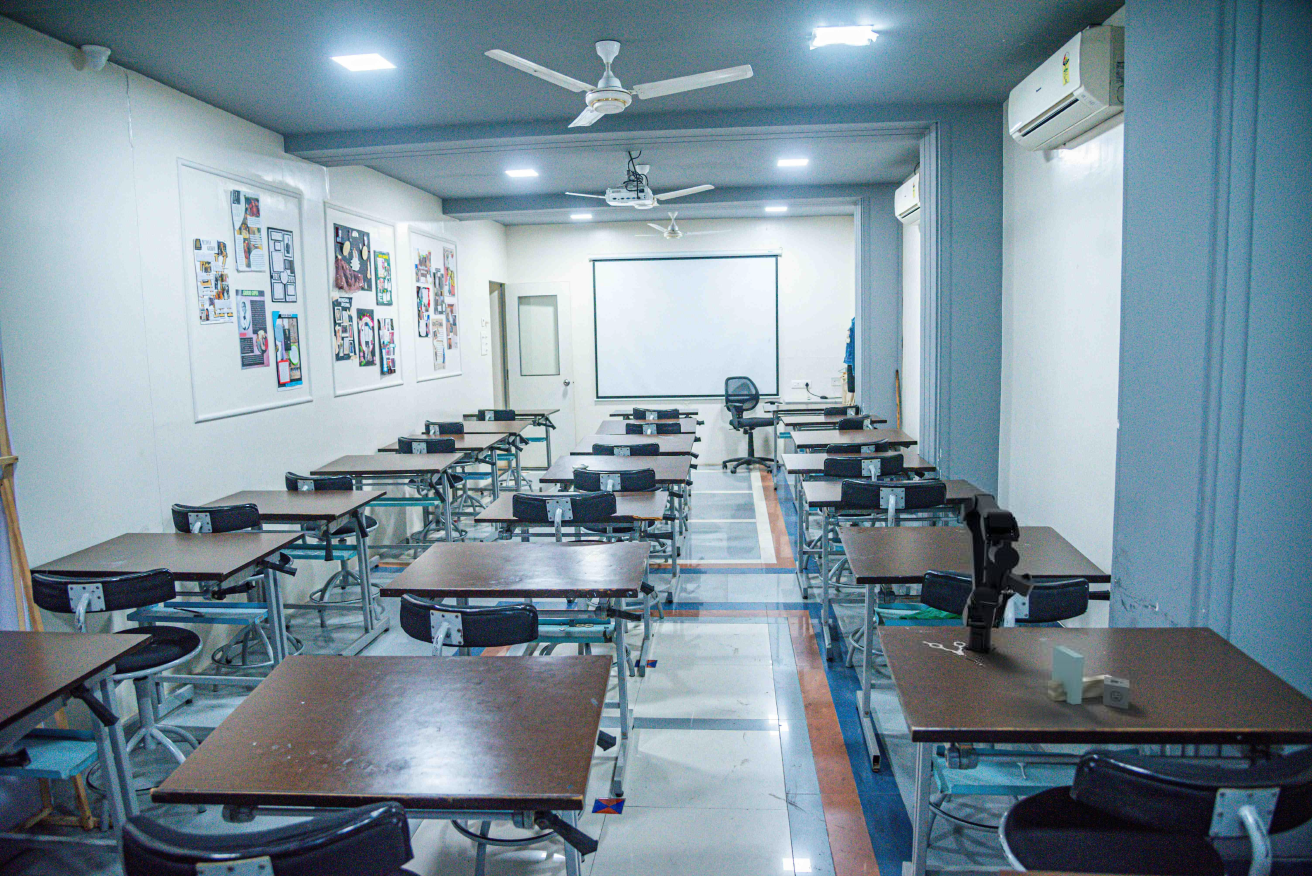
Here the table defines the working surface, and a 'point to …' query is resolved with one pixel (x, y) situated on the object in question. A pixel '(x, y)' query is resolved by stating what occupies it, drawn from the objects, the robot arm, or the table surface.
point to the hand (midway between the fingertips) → (994, 624)
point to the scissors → (948, 649)
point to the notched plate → (1068, 672)
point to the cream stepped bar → (1089, 688)
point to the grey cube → (1116, 692)
